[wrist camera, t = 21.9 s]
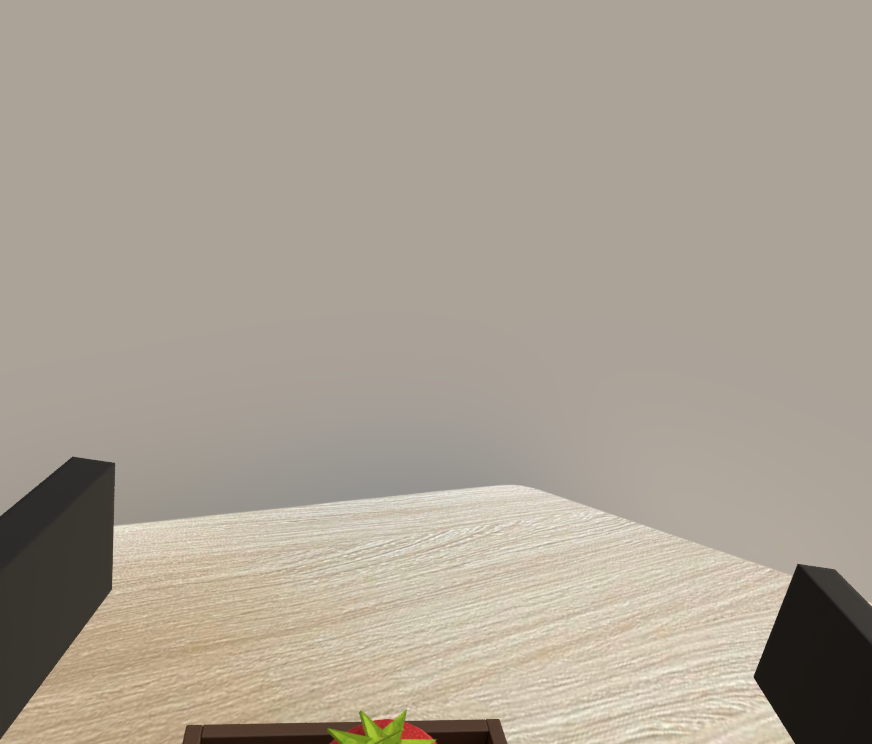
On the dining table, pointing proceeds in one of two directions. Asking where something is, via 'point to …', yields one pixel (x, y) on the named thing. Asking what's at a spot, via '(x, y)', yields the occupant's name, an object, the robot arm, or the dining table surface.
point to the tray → (311, 740)
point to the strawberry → (382, 732)
